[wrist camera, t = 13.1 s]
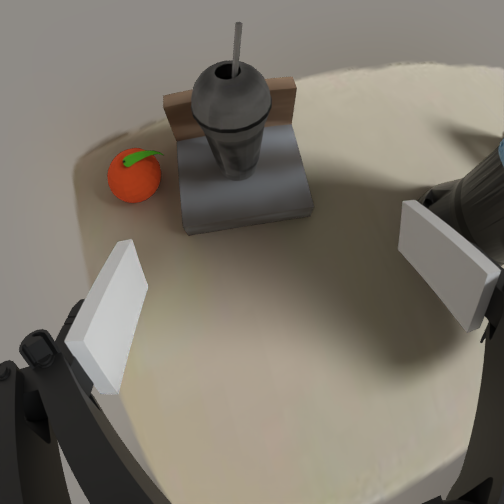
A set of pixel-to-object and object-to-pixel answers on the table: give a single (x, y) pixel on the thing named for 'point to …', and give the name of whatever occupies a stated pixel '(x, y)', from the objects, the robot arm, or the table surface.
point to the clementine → (134, 175)
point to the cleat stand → (246, 191)
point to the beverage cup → (232, 112)
